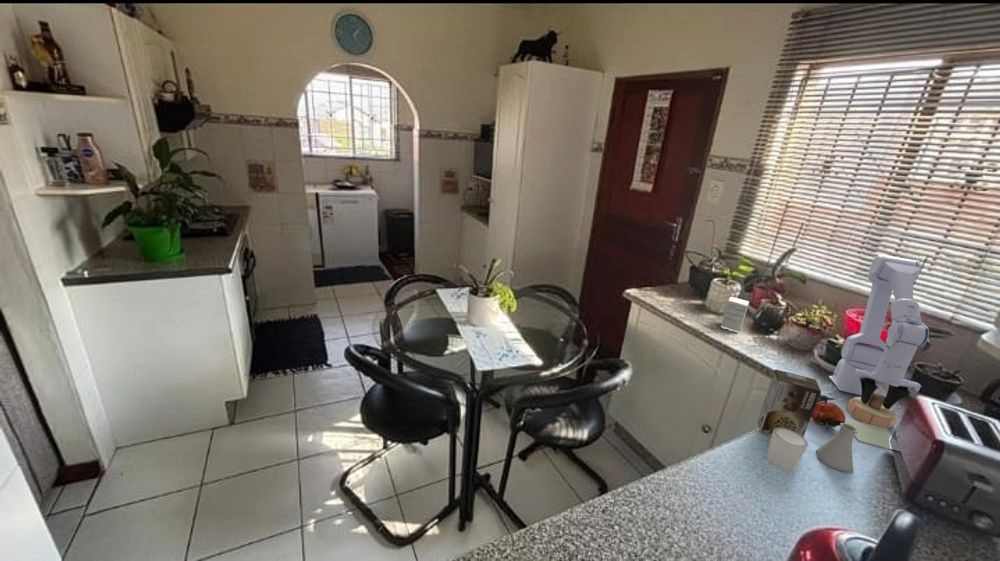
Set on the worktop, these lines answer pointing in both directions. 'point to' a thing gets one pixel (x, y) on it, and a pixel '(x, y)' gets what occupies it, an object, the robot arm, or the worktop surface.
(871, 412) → the lid
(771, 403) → the coffee box
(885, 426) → the dish
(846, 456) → the flask
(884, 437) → the mat
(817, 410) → the pomegranate
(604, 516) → the worktop surface
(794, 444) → the white cylinder
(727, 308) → the supplement box
